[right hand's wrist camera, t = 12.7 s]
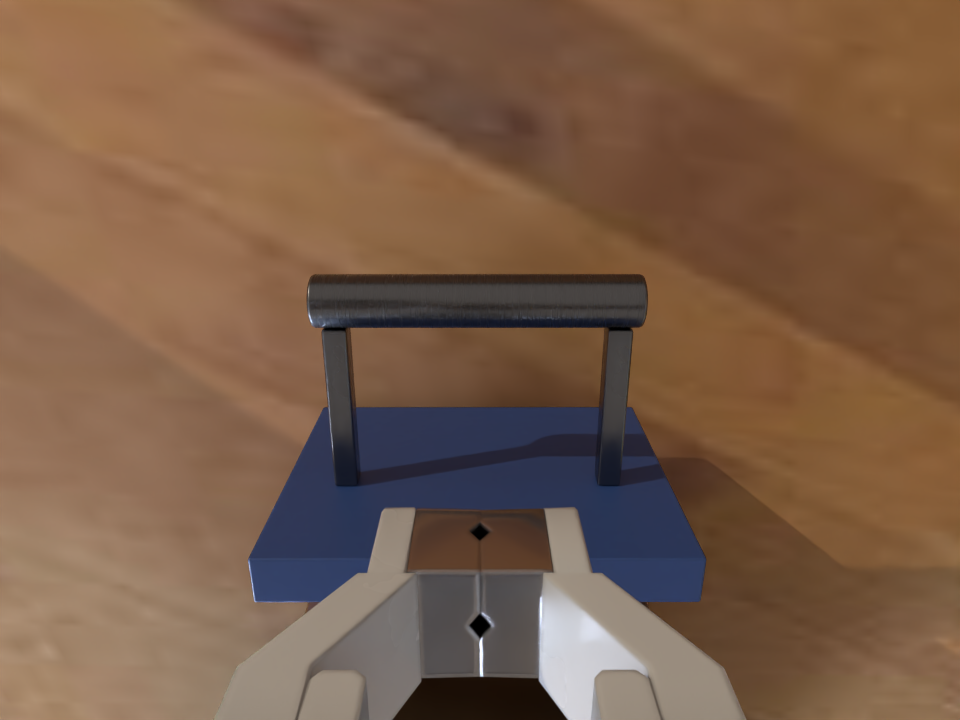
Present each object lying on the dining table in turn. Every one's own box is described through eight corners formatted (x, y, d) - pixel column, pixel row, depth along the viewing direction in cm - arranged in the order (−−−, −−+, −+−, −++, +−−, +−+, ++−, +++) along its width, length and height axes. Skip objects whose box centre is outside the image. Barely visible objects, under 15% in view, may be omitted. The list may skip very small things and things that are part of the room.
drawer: (307, 237, 20) (210, 317, 13) (647, 237, 20) (743, 317, 13) (359, 798, 29) (318, 1038, 21) (597, 798, 29) (637, 1037, 21)
